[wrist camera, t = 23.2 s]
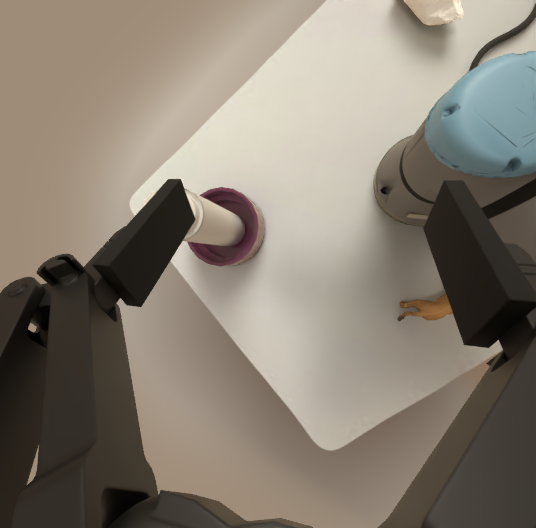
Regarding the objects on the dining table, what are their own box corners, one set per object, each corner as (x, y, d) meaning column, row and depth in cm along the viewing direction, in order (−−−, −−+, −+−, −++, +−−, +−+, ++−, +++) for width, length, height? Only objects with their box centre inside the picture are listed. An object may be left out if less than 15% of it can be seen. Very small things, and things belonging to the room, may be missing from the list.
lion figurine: (464, 261, 44) (501, 262, 35) (484, 287, 43) (526, 294, 34) (388, 307, 46) (404, 319, 37) (406, 332, 46) (427, 350, 37)
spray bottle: (207, 227, 52) (108, 199, 28) (232, 206, 51) (152, 158, 26) (226, 253, 51) (141, 248, 27) (251, 233, 50) (187, 209, 26)
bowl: (217, 183, 52) (205, 174, 47) (277, 214, 50) (272, 209, 44) (187, 244, 54) (172, 242, 48) (244, 277, 51) (235, 279, 46)
